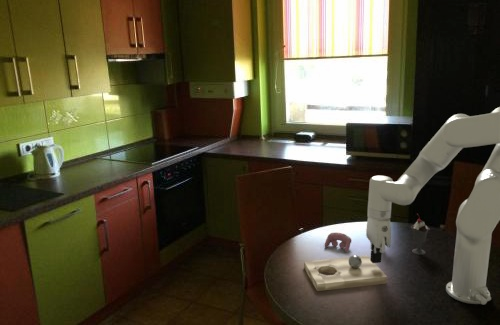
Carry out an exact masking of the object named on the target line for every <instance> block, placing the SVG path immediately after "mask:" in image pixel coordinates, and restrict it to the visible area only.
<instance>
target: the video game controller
mask: <svg viewBox="0 0 500 325" xmlns="http://www.w3.org/2000/svg"><path fill="white" fill-rule="evenodd" d="M338 241H341V242H340V243H339V242H338ZM351 244H352V238H351V237H350V236H349V235H347V234H345V233H342V232H331V233H329V234H328V235H327V237H326V240H325V242H324V248H325V249H327V248H328V247H329V246H330V245H331V246H332V247H334V248H335V247H340V248H341V249H344V252H345V253H348V252H349V250H350V247H351Z"/></svg>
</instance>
